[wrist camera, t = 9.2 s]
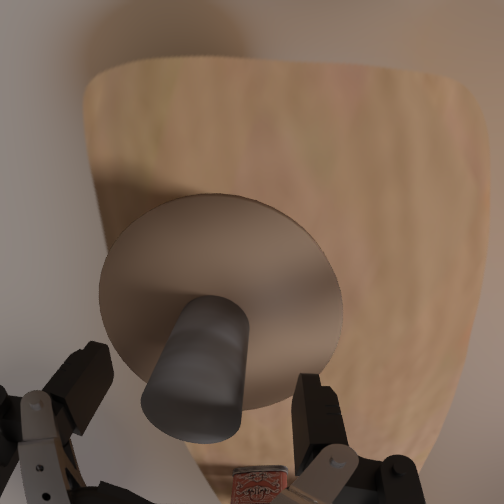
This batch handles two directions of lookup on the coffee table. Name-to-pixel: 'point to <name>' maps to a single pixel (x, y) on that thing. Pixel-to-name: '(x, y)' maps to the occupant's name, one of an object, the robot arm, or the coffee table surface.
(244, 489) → the lighter
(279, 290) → the walnut lid
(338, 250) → the coffee table surface
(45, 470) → the robot arm
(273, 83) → the coffee table surface
